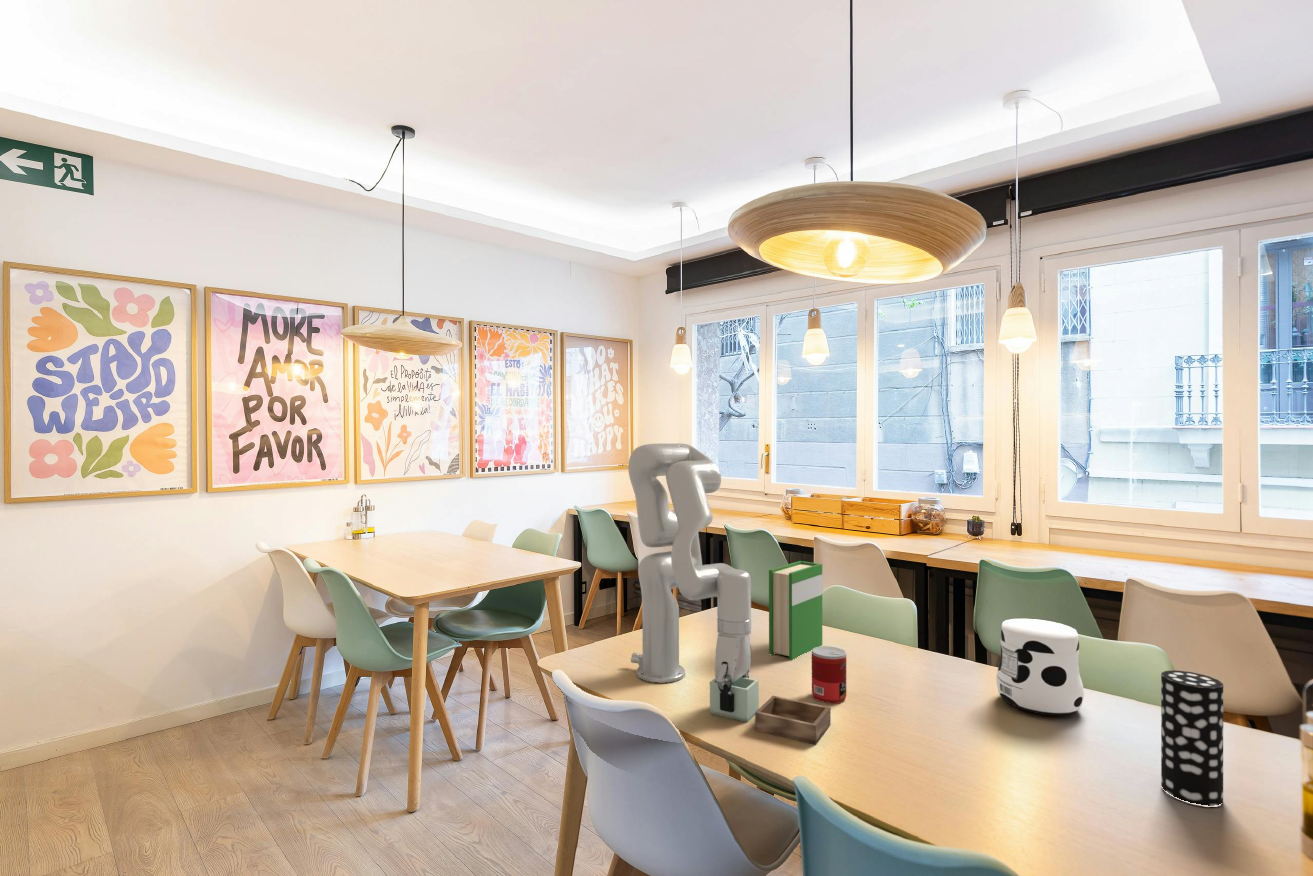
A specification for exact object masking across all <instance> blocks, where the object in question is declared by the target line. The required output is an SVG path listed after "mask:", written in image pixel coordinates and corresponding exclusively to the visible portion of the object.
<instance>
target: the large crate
mask: <svg viewBox="0 0 1313 876" xmlns="http://www.w3.org/2000/svg"><path fill="white" fill-rule="evenodd" d="M754 723H755V724H754V728H755V729H754V730H755V731H756V732H761V733H763V734H764V733H765V734H768V735H772V736H776V737H777V736H778V737H782V738H786V739H790V740H792V741H798V742H802V743H807V744H810V745H816V746H817V744H818V743H819V741H821V739H822V737H823V736H824V735H825V733H826V732H827V730H829V728H830V727H831V723H832V722H831V706H825V705H821V704H816V703H811V702H808V701H807V702H805V701H801V700H797V699H792V698H787V697H781V696H777V695H772V696H770V697H769V698H768V700H767V701H765V702H764V703H763V704H762V706H759V709H758V710H757V711H756V712H755V715H754Z"/></svg>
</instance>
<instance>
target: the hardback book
mask: <svg viewBox="0 0 1313 876" xmlns="http://www.w3.org/2000/svg"><path fill="white" fill-rule="evenodd" d="M820 646H823V563H817V562H811V561H810V562H809V561H804V560H803V561H802V560H799V561H795V562H792V563H789V564H788V563H787V564H785V565H781V566H778V567H775V568H771V569H768V655H769V654H773V655H775V654H778V655H781V656H782V655H783V656H787V657H788V659H790V661H794V660H795V658H796V659H797V657H798V656H800V655H802V654H804V653H806V654H807V652H808V653H809V651H810V652H812V651H811V650H812V649H813V648H815V647H820ZM774 653H775V654H774ZM804 655H805V654H804ZM802 656H803V655H802ZM800 657H801V656H800ZM798 658H799V657H798ZM793 659H794V660H793Z"/></svg>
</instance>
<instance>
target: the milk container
mask: <svg viewBox="0 0 1313 876" xmlns="http://www.w3.org/2000/svg"><path fill="white" fill-rule="evenodd" d="M1000 637H1001V638H1000V662H999V665H998V668H997V671H996V677H995V678H996V679H995V680H996V686H997V692H998V694H999V696H1000V697H1001V698H1002V699H1003V700H1004V701H1005V702H1006V703H1007V704H1009V705H1011V706H1013V707H1015V708H1018V709H1020V710H1023V711H1026V712H1030V713H1035V714H1039V715H1045V716H1047V715H1048V716H1067V715H1072V714H1074V713H1077V712H1078V711H1080V709H1081V708H1082V706H1083V702H1084V697H1085V690H1084V685H1083V681H1082V677H1081V675H1080V668H1079V667H1080V665H1079V664H1080V640H1079V639H1080V638H1079V634H1078V632H1077V629H1075V628H1073V627H1072V626H1069V625H1066V624H1063V623H1061V622H1060V623H1058V622H1055V621H1049V620H1043V619H1035V618H1034V619H1033V618H1011V619H1006V620H1004V621H1002V623H1001V628H1000Z"/></svg>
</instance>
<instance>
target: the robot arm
mask: <svg viewBox="0 0 1313 876" xmlns="http://www.w3.org/2000/svg"><path fill="white" fill-rule="evenodd" d="M627 467H628V468H627V469H628V475H629V480H630V484H631V487H632V489H633V493H634V497H635V504H636V513H637V523H638V531H639V536H640V540H641V543H642V544H643V545H644V546H646V547H647V548H665V547H672V548H671V551H662V552H661V551H660V552H655V553H651V554H648V555H646V556H645V557H643V558H642V559H641V560H640V562H639V564H638V568H637V573H638V574H637V575H638V579H639V585H640V590H641V591H640V593H641V607H642V608H641V609H642V610H641V611H642V612H641V613H642V614H641V615H642V619H641V620H642V654H641V653H639V652H632V654H631V658H630V662H631V663H633V664H637V665H638V667H637V669H636V677H638V678H639V679H640V678H641V679H640V680H642V679H643V680H642V681H645V680H646V681H645V682H648V681H651V682H650V683H654V682H658V683H659V684H661V683H662V684H665V682H667V683H673V682H676V681H679V680H681V679H683V678H684V677H685V676H686V670H685V669H686V668H684V666H682V665H680V610H679V609H680V608H679V607H680V606H679V604H678V601H677V599H676V597H675V596H674V594H673V592H672V589H673V590H674V589H677V588H678V590H679V592H680V594H681V596H682V597H684V598H685V599H687V600H689V601H699V600H705V599H709V598H717V600H716V601H717V605H716V606H717V611H716V612H717V614H716V615H717V617H716V618H717V619H716V620H717V621H716V622H717V624H716V625H717V626H716V627H717V628H716V629H717V633H718V634H717V638H716V646H715V647H716V648H715V659H714V678H716V679H717V684H718V688H719V693H720V710H722V711H727V712H731V713H732V712H734V694H733V693H732V692H733V687H734V682H735V681H736V680H738V679H739V678H741V677H745V678H750V675H749V674H750V673H749V672H750V669H751V661H752V660H751V658H752V655H751V638H750V635H751V634H752V579H751V578H752V577H751V575H750V573H749V572H748V571H747V570H743V569H740V568H739V569H736V568H734V567H732V566H731V565H730V564H729V565H728V564H726V563H723V562H719V563H718V562H717V563H711V564H703V559H702V553H701V546H700V537H699V532H700V531H702V530H703V529H706V528H707V527H708V526H709V525H711V523H712V522H713V519H714V517H713V513H712V510H711V507H710V504H709V501H708V500H709V499H708V497H707V494H713V493H715V492H716V491H718V489H719V488H720V487H721V484H722V473H721V472H720V469H719V467H718V465H716V463H715V462H714V461H713V460H712V459H711V458H709V457H708V456H707V455H705V454H704V453H702V451H700V450H699V449H697V448H696V447H694V446H692V445H690V444H687V443H682V442H681V443H661V442H660V443H647V444H642V445H639V446H637V447H636V448H635V449H633V451H632V452H631V454H630V455H629V459H628V465H627ZM657 477H665V480H666V484H667V485H666V486H667V487H668V491H669V496H670V500H671V503H672V506H673V509H670V504H669V498H668V497H669V496H668V493H667V491H666V489H665V487H664V485H663V484H662V483H661V481H660V480H659V479H658V478H657ZM726 676H730V677H731V679H728V678H726ZM725 682H730V685H729V687H728V685H727V684H725Z"/></svg>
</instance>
